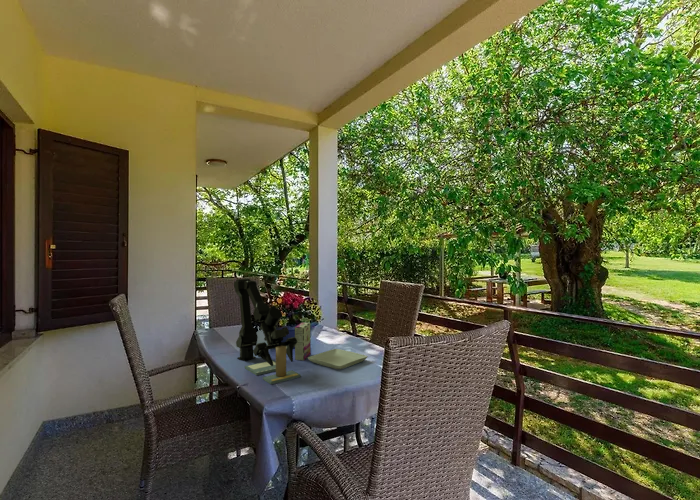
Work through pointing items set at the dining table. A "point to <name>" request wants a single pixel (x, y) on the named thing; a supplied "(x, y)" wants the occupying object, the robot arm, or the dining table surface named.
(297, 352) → the candy bar box
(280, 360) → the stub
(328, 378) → the dining table surface
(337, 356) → the salad plate
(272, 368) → the ticket
